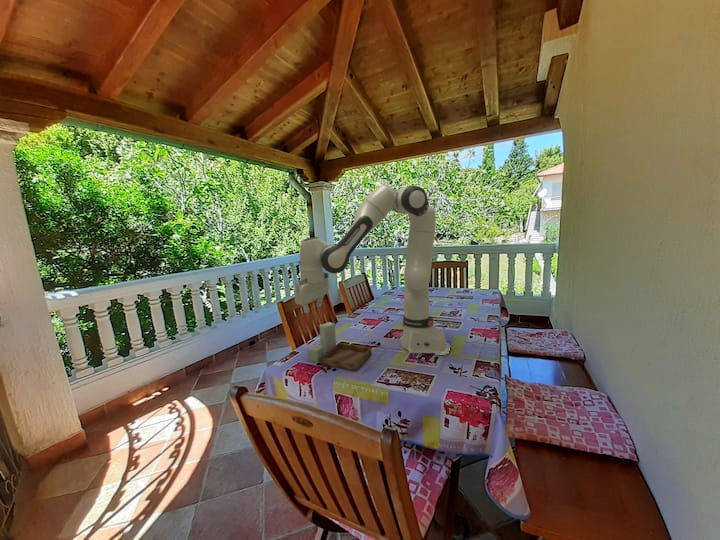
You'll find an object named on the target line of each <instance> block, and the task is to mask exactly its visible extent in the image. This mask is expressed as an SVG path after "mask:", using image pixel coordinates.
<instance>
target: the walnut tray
mask: <svg viewBox="0 0 720 540" xmlns="http://www.w3.org/2000/svg"><path fill="white" fill-rule="evenodd" d="M372 349H373V348H372V347H368V346H363V345H362V346H361V345H355V344H352V343H351V344H350V343H343V342H338V343H336V346H334V347H333V348H332V349H331V350H330V351H328V352H325V353H324V356H322V357H321V360H320V365H322V366H328V367H331V368H335V369H340V368H341V370H346V371H352V372H356V373H357V372H358V370H360V368H361V367H362V366H363V365H364V364H365V363H366V361H367V360H369V358H370V357H371V356H372V355H373V354H372V353H373V352H372V351H373V350H372Z"/></svg>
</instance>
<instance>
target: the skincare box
mask: <svg viewBox="0 0 720 540" xmlns="http://www.w3.org/2000/svg"><path fill="white" fill-rule="evenodd" d="M318 328H319V338H320V339H319V342H320V346H324V353H327V352H328V351H330V350H331V349H332V348H333V347H334V346H336V345H337V340H336V339H337V337H336V335H337V334H336V323H333V322H331V321H329V322H328V321H327V322H326V323H322V324H319V327H318Z"/></svg>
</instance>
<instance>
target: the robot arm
mask: <svg viewBox="0 0 720 540" xmlns="http://www.w3.org/2000/svg"><path fill="white" fill-rule="evenodd" d="M428 200H429V199H428V195H427V192H426V191H425V189H424V188H422V187H421V186H418V185H409V186H403V187H401V188H398V189H393V188H392V187H391V186H389V185H387V184H382V185H379V186H378V187H376V188H375V189H374V190H373V191H372V192H370V193H369V195H368V196H366V197H365V199H364V200H363V201H362V202H361V203H360V205H359V206H358V208H357V209H356V210H355V212H354V219H353V223H352V225H351V226H350V228H349V229H348V231H347V232H346V233H345V234H344V235H343V236H342V238H341V239H340V240H339V242H338V243H336V244H333V243H329V242H327V241H325V240H322V239H321V238H320V237H318V236H313V237H307V238H305V239H303V240H301V242H300V245H299V262H300V280H298V282H297V284H296V285H295V288H294V289H295V290H294V302H295V304H296V305H300V306H301V307H302V309H303V313H305V314H308V313H310V307H309V306H308V305H309V303H310V302H312V301H314V300H317V301H316V307H318V308H319V307H322V306H323V303H322V302H323V299H324V296H325V295H327V294H328V293H329V287H330V286H329V273H330V274H340V273H341V272H343V271H344V270H346V268H347V266H348V264H349V260H350V257H351V256H352V254H353V252H354V251H355V250H356V248H357V247H358V246H359V244H360V243H361V242H362V241H363V239H364V238H365V237H366V236H367V235H368V234H369V233H370V232H371V231H372V230H374V229H375V228H376V227H377V226H378V225H379V224H381V222H382V221H383V220H384V219H385V218H386V216H387V215H388V214H389V213H390V212H391V211H392V212H395V213H398V214H404V215H408V217H409V222H410V223H409V228H408V235H407V236H408V237H407V245H406V255H405V256H406V257H405V264H404V265H405V266H404V269H403V270H404V271H403V272H404V273H403V280H404V281H403V283H404V284H403V286H404V287H403V290H404V291H403V292H404V293H403V295H404V297H403V299H404V300H403V301H404V302H403V303H404V305H403V309H404V311H403V312H404V313H403V317H402V327H403V332H402V333H403V334H402V339H401V342H400V346H401V348H403V350H406V351H407V350H408V351H409V352H410V353H409V352H408V351H407V352H408V353H409V354H411V353H435V354H441V353H442V352H444V351H445V350H446V348H447V349H448V347H447V344H446V341H447V339H446V336H445V333H444V332H443V331H442V330H441V329H439V328H438V327H437V326H435V325H434V317H431V316H430V314H429V313H430V298H429V297H430V296H429V295H430V294H429V293H430V292H429V290H430V289H429V284H430V281H431V275H432V265H433V264H432V263H433V251H434V250H433V249H434V243H435V234H436V225H437V224H436V222H437V220H436V210H435V209H434V207H432V206H431V205H430V203H429V201H428ZM323 269H324V270H325V272H324V271H323ZM446 351H447V350H446ZM442 354H444V353H442Z"/></svg>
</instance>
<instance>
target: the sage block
mask: <svg viewBox="0 0 720 540" xmlns="http://www.w3.org/2000/svg"><path fill="white" fill-rule="evenodd" d="M306 351H307V353H306V354H307V360H308V361H311V362H316V363H317V362H321V357H322V356H324V355H325V352H324V346H321V345H319V344H312V345H311V346H309V347H308V348H307V350H306Z"/></svg>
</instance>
